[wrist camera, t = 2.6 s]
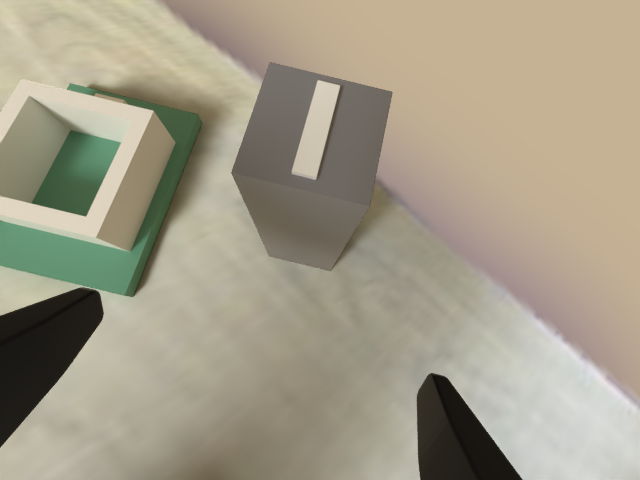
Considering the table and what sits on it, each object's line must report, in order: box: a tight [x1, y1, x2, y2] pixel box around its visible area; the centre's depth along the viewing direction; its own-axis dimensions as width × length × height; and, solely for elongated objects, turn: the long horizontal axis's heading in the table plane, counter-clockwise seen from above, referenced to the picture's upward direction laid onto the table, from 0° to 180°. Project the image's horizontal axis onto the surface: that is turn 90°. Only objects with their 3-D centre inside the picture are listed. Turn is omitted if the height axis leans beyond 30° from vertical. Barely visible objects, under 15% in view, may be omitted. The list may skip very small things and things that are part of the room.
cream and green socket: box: [0, 79, 202, 297], centre depth 20 cm, size 14×10×4 cm
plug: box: [231, 62, 392, 271], centre depth 16 cm, size 4×4×13 cm
